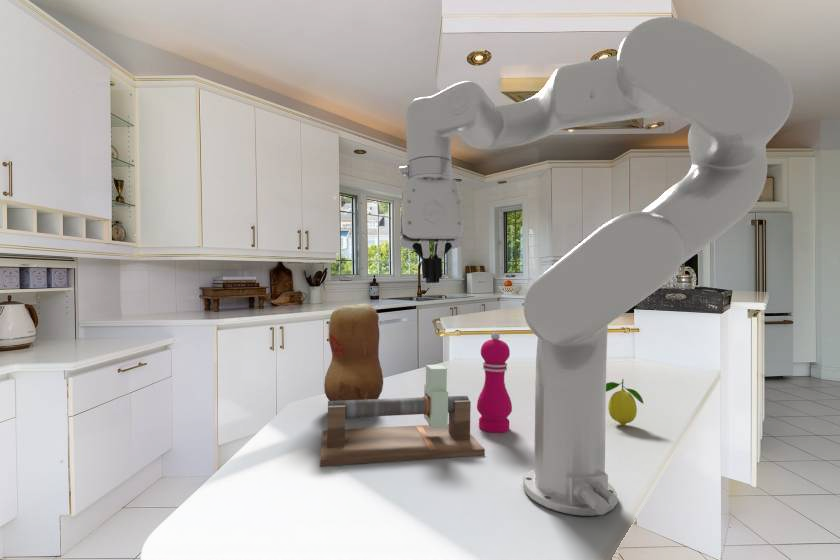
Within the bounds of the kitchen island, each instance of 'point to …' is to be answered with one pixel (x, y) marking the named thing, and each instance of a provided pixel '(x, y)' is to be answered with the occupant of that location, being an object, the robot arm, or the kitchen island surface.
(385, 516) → the kitchen island surface
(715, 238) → the robot arm
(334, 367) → the butternut squash
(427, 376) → the sleeve
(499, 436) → the kitchen island surface
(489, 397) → the pepper mill
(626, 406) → the lemon
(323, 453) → the pipe stand
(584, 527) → the kitchen island surface
